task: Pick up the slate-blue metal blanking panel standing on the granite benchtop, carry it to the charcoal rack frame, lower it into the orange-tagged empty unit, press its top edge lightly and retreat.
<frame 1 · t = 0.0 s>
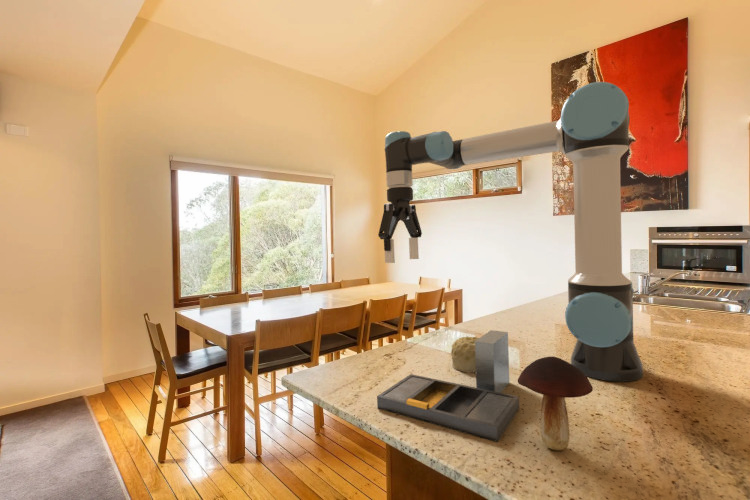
hand: (402, 260, 109), 28 cm above the kitchen counter, fingers open, 13 cm apart
panel: (493, 389, 85), on the kitchen counter
rack: (446, 408, 77), on the kitchen counter
decorative mushroom: (556, 449, 61), on the kitchen counter
decorative item: (469, 367, 100), on the kitchen counter
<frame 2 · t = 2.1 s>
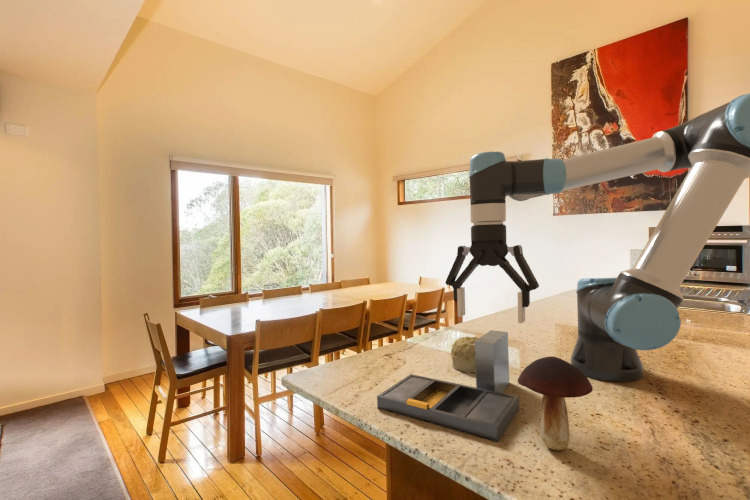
hand: (490, 318, 84), 16 cm above the kitchen counter, fingers open, 13 cm apart
nothing on the kitchen counter moved.
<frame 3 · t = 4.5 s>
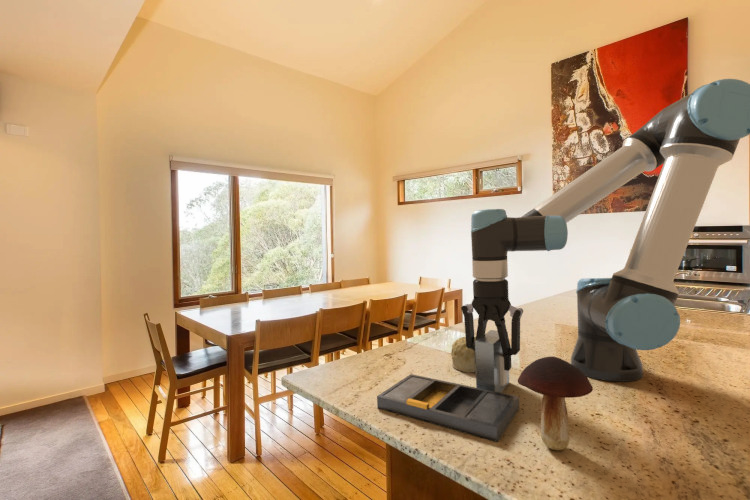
hand: (493, 381, 85), 2 cm above the kitchen counter, fingers closed on panel, 4 cm apart
panel: (493, 388, 85), on the kitchen counter, touching gripper
everything else where it was.
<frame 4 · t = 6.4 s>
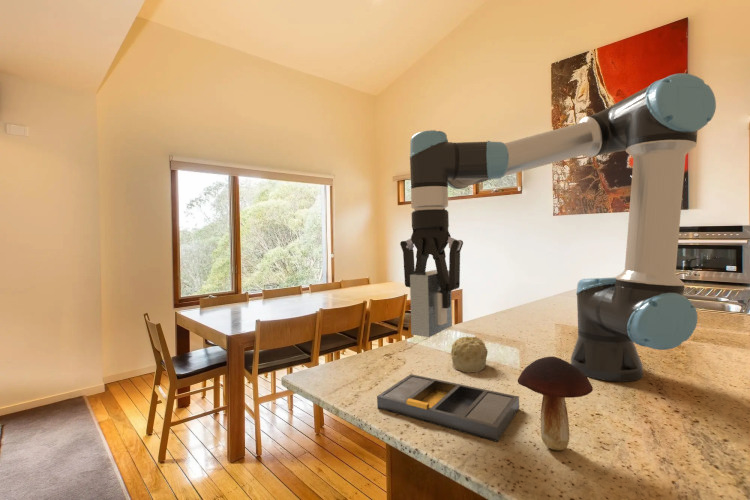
hand: (432, 322, 78), 17 cm above the kitchen counter, fingers closed on panel, 4 cm apart
panel: (432, 330, 78), point 16 cm above the kitchen counter, touching gripper
everything else where it was.
when the fingers open (3 cm above the kitchen counter, at t = 8.6 s): panel stays where it is, resting on rack.
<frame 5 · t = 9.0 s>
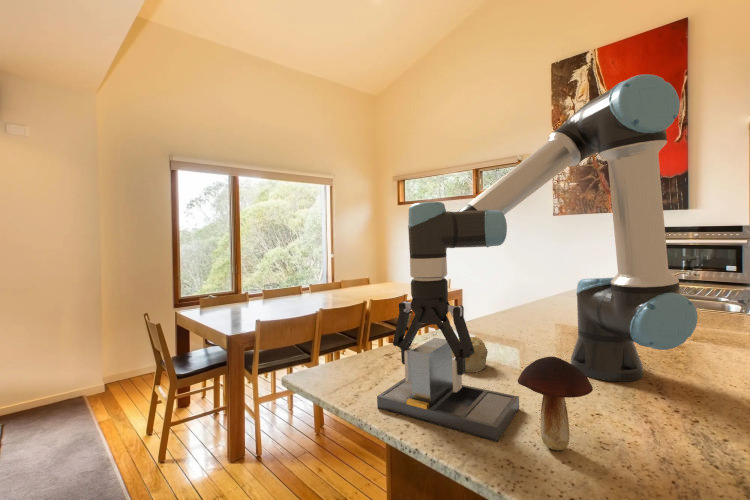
hand: (432, 384, 78), 4 cm above the kitchen counter, fingers open, 10 cm apart
panel: (433, 402, 78), point 1 cm above the kitchen counter, touching rack
everything else where it was.
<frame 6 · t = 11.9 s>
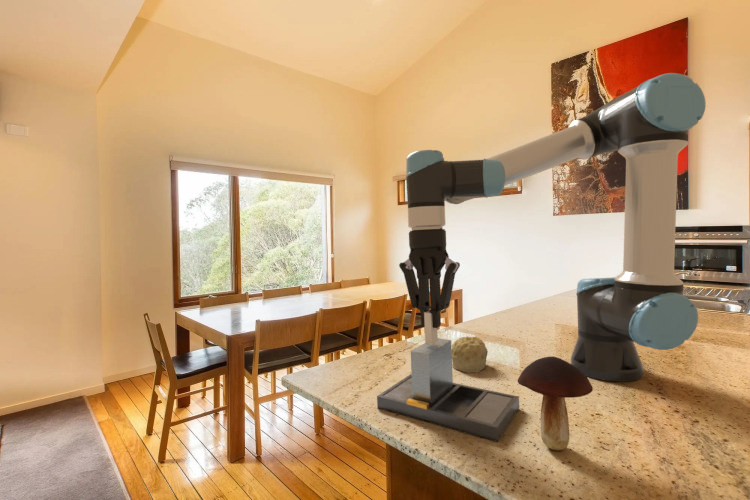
hand: (431, 342, 78), 13 cm above the kitchen counter, fingers closed
nothing on the kitchen counter moved.
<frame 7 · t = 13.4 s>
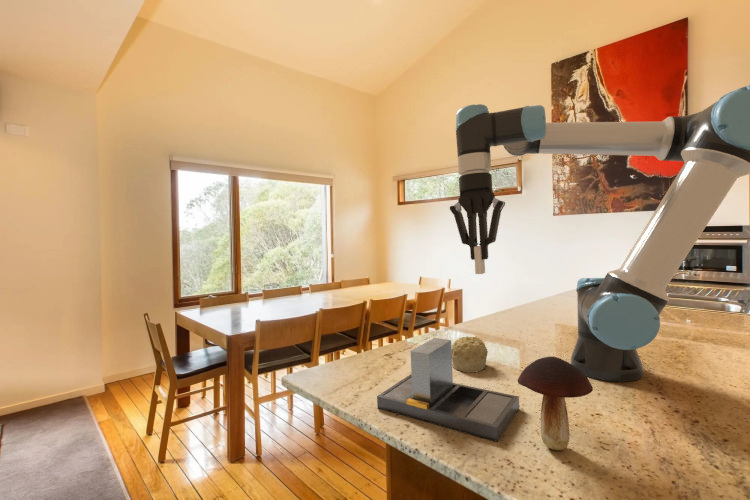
hand: (480, 273, 90), 26 cm above the kitchen counter, fingers closed
nothing on the kitchen counter moved.
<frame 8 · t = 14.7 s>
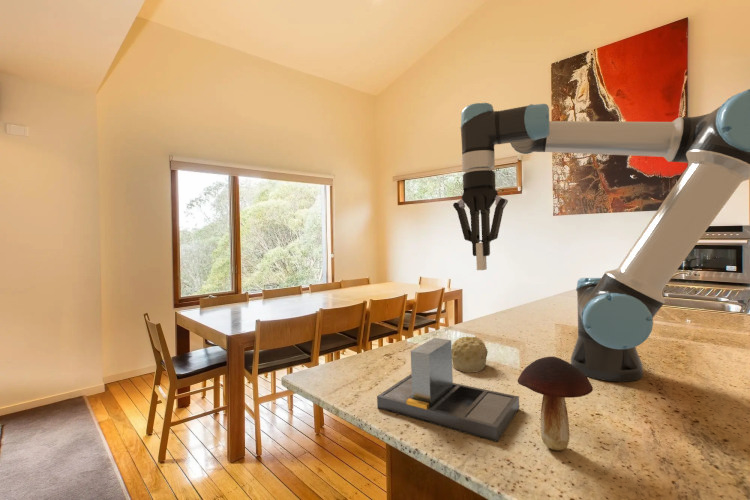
hand: (481, 269, 91), 26 cm above the kitchen counter, fingers closed
nothing on the kitchen counter moved.
at the end: panel 0.1 cm from the target spot on the rack, point 0.6 cm above the rack's base; panel tilted 0°; the gripper is holding nothing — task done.
